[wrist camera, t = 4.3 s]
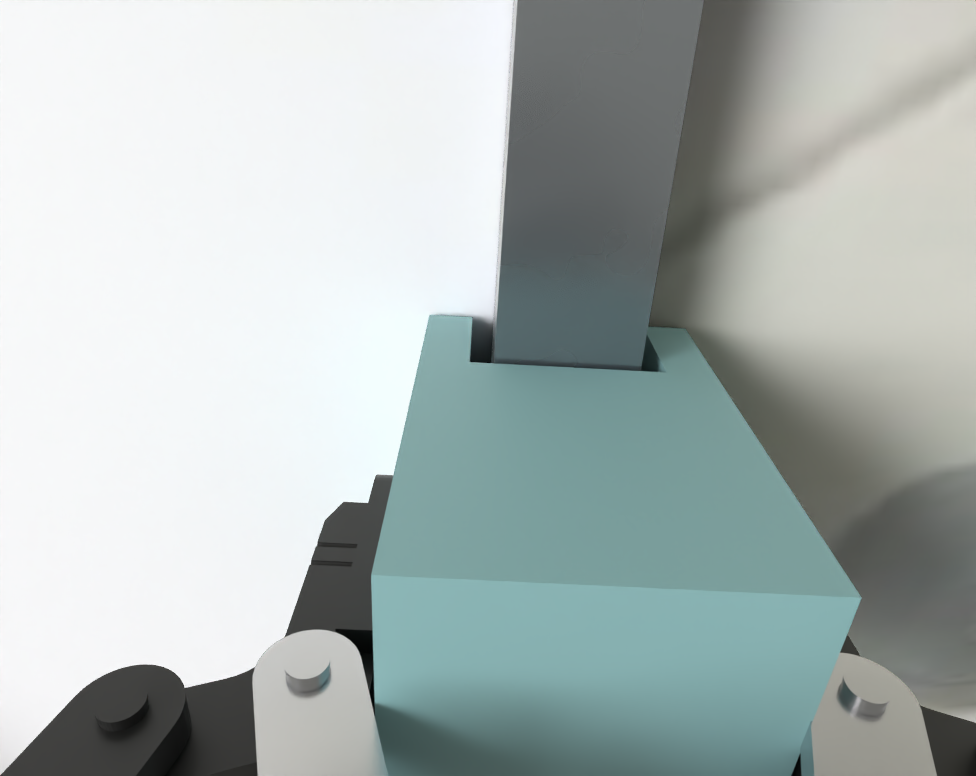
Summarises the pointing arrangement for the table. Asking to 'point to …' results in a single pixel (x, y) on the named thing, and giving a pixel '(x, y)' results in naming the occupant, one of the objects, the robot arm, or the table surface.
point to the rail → (588, 176)
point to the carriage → (594, 575)
